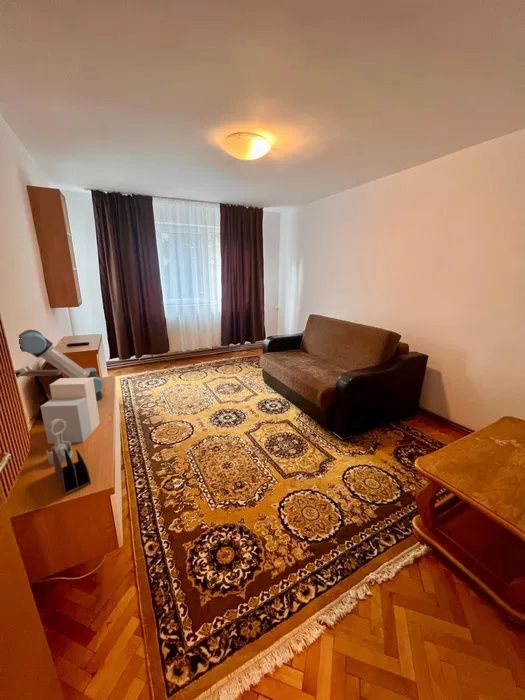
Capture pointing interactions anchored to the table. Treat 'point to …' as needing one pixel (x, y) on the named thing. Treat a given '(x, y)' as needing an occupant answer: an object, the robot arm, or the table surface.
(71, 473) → the letter holder
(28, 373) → the walnut axle bar
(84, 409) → the stepped parts shelf
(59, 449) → the engine component
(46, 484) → the table surface
